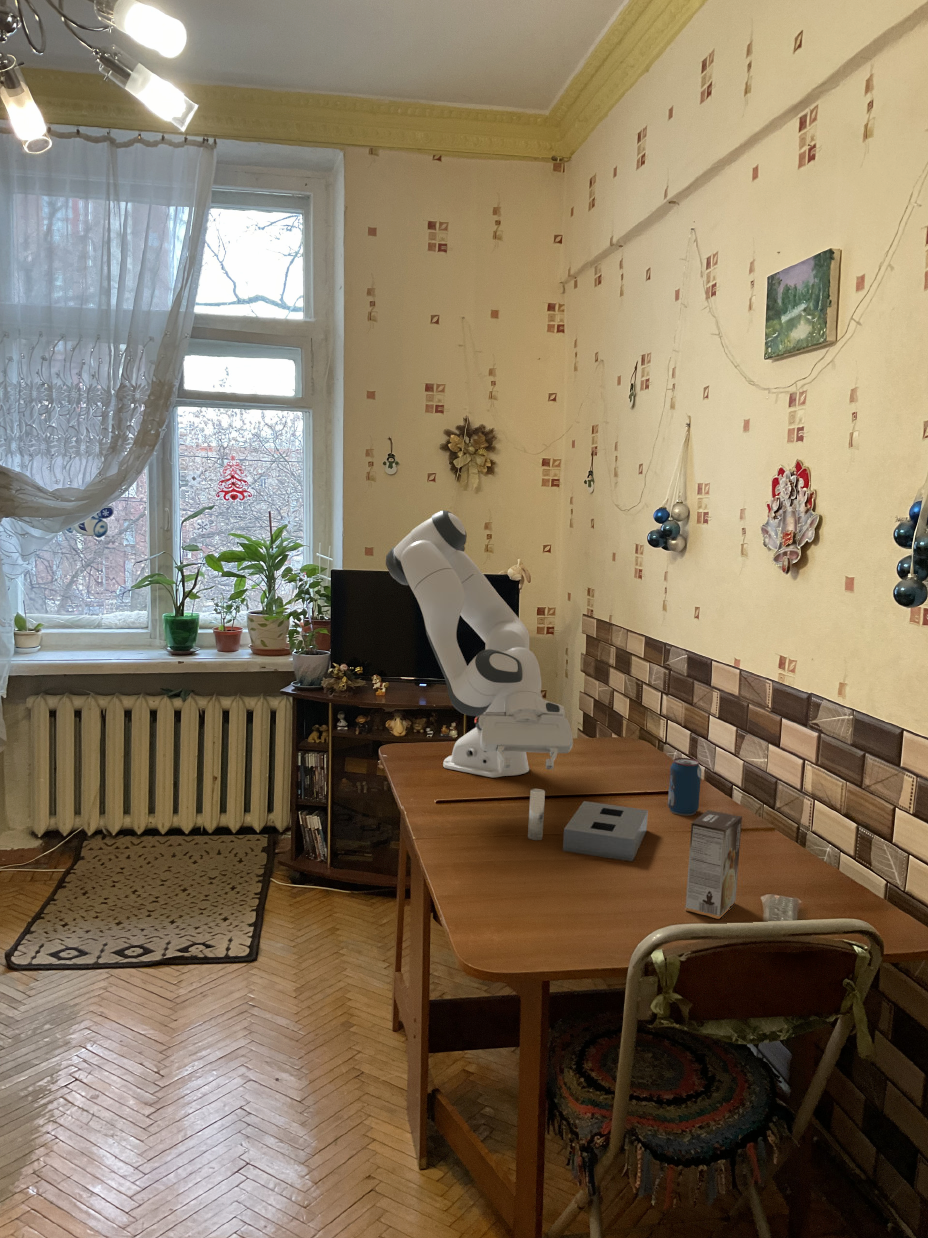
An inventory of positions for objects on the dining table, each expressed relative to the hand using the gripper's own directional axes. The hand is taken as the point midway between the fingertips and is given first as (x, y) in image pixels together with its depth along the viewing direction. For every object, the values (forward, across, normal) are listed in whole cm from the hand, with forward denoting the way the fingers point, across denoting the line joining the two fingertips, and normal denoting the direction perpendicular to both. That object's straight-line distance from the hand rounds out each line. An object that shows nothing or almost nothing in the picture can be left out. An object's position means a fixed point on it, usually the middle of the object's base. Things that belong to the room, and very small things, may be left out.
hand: (528, 767), depth 204 cm
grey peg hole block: (+15, +16, +2) cm, 22 cm away
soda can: (+2, +38, +16) cm, 42 cm away
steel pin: (+15, +1, +3) cm, 15 cm away
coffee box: (+39, +27, -21) cm, 51 cm away
